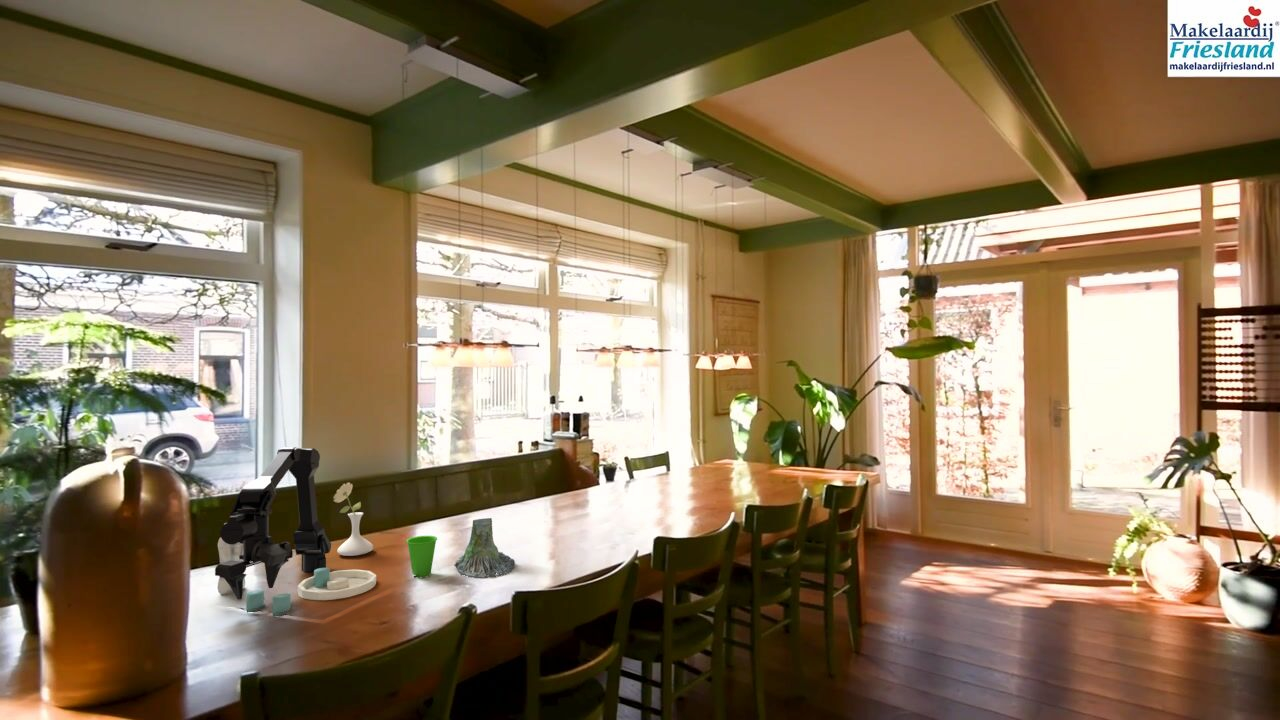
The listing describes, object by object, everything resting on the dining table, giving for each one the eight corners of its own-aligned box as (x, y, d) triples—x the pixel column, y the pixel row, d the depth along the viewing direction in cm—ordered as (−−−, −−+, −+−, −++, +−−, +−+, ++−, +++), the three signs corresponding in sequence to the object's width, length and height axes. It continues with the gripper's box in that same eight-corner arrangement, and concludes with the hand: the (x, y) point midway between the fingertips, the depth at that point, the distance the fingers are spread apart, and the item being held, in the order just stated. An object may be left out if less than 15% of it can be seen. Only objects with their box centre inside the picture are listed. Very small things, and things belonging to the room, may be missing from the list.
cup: (427, 580, 190) (427, 543, 190) (400, 579, 191) (400, 542, 192) (442, 571, 198) (442, 536, 199) (416, 570, 200) (416, 534, 200)
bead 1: (242, 611, 166) (242, 594, 166) (256, 606, 170) (256, 589, 170) (254, 613, 165) (254, 595, 165) (267, 607, 169) (267, 590, 169)
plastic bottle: (250, 591, 181) (251, 521, 182) (228, 599, 175) (229, 526, 175) (234, 589, 183) (234, 519, 184) (211, 596, 177) (212, 524, 177)
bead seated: (310, 587, 182) (310, 571, 182) (321, 582, 186) (321, 567, 186) (321, 588, 181) (321, 572, 181) (332, 583, 184) (332, 568, 184)
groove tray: (281, 599, 175) (281, 588, 175) (336, 576, 194) (336, 567, 194) (339, 607, 169) (339, 595, 169) (390, 583, 188) (390, 573, 188)
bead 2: (269, 615, 163) (269, 597, 163) (282, 610, 167) (282, 592, 167) (281, 617, 162) (281, 599, 162) (294, 611, 166) (294, 594, 166)
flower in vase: (361, 547, 226) (362, 477, 227) (380, 552, 220) (380, 480, 220) (325, 556, 216) (326, 482, 216) (343, 562, 209) (344, 485, 210)
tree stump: (459, 583, 188) (454, 522, 192) (452, 580, 206) (448, 524, 210) (520, 572, 195) (514, 513, 200) (509, 570, 213) (503, 516, 217)
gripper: (247, 545, 156) (246, 609, 156) (308, 528, 174) (308, 585, 174) (213, 542, 160) (213, 604, 160) (277, 525, 178) (276, 581, 177)
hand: (255, 593), depth 167 cm, fingers open, 9 cm apart
